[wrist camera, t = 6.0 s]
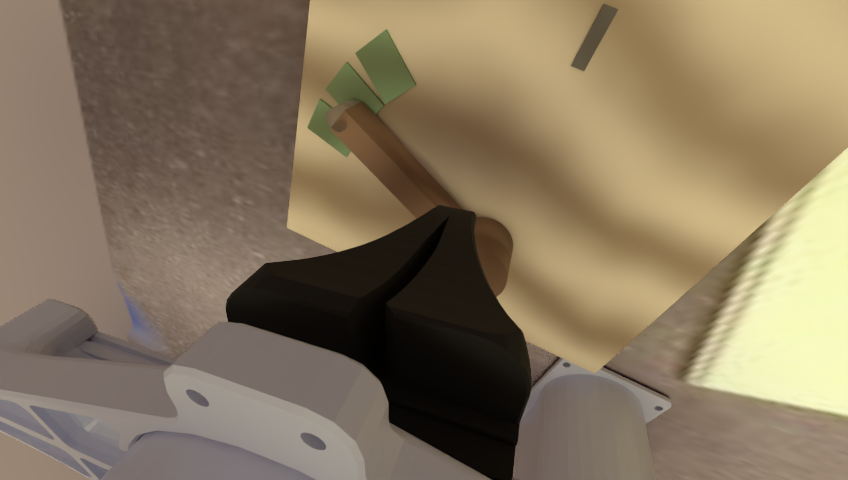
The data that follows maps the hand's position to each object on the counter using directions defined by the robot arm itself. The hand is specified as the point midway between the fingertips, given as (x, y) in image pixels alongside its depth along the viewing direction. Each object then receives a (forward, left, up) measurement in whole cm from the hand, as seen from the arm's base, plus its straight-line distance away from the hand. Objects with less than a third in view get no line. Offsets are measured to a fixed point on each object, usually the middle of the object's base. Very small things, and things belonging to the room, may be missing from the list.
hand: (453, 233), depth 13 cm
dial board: (0, -1, -9) cm, 9 cm away
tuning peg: (-3, +2, -8) cm, 9 cm away
